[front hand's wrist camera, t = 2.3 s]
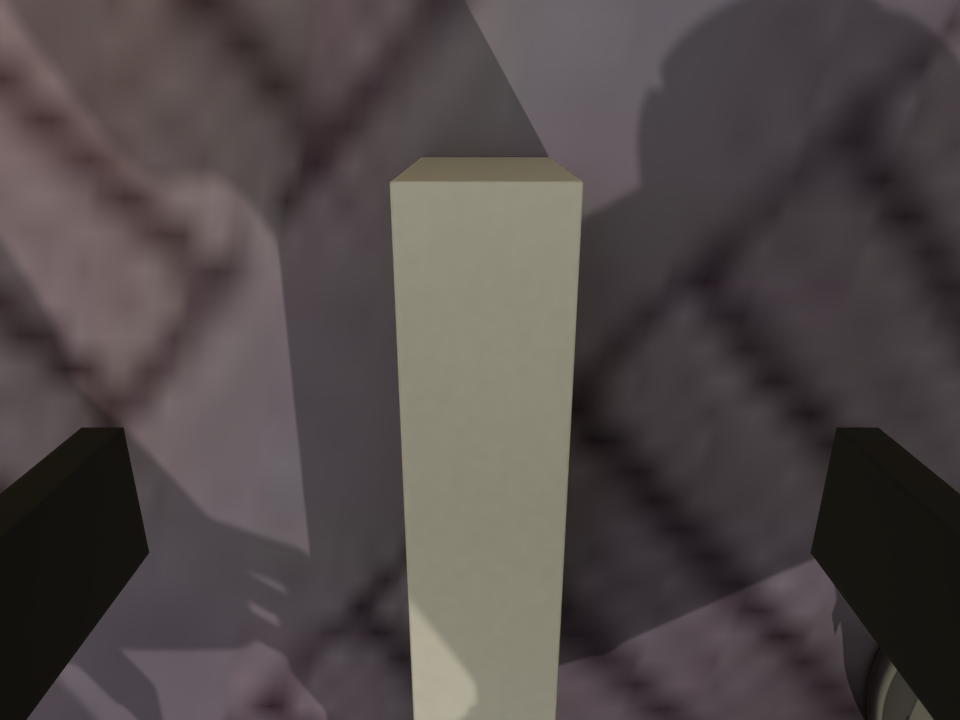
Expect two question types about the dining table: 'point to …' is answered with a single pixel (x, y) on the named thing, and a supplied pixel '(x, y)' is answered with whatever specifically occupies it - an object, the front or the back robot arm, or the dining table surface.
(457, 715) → the beam
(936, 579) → the front robot arm
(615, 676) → the dining table surface
